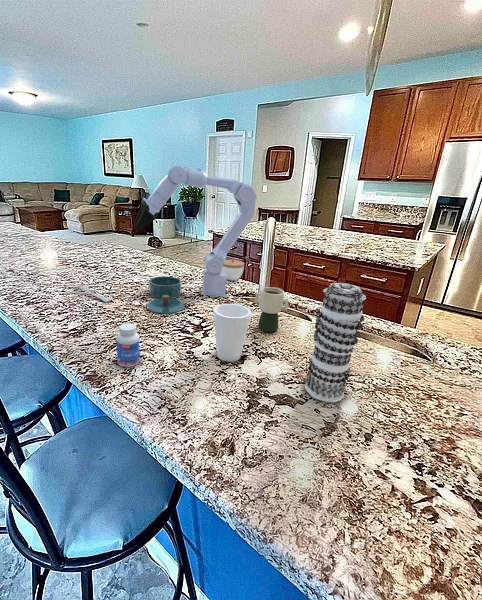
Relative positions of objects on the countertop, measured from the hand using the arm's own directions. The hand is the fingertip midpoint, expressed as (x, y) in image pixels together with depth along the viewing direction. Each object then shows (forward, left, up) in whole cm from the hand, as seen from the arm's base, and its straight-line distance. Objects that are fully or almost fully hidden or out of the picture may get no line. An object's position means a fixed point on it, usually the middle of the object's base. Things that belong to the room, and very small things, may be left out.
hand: (137, 225), depth 118 cm
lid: (-13, +13, -26) cm, 32 cm away
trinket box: (-36, -28, -27) cm, 53 cm away
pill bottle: (-11, +49, -27) cm, 57 cm away
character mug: (-48, +24, -27) cm, 60 cm away
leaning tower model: (-58, +54, -27) cm, 84 cm away
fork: (+17, +6, -27) cm, 32 cm away
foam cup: (-36, +42, -27) cm, 62 cm away
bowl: (-10, -1, -27) cm, 28 cm away
